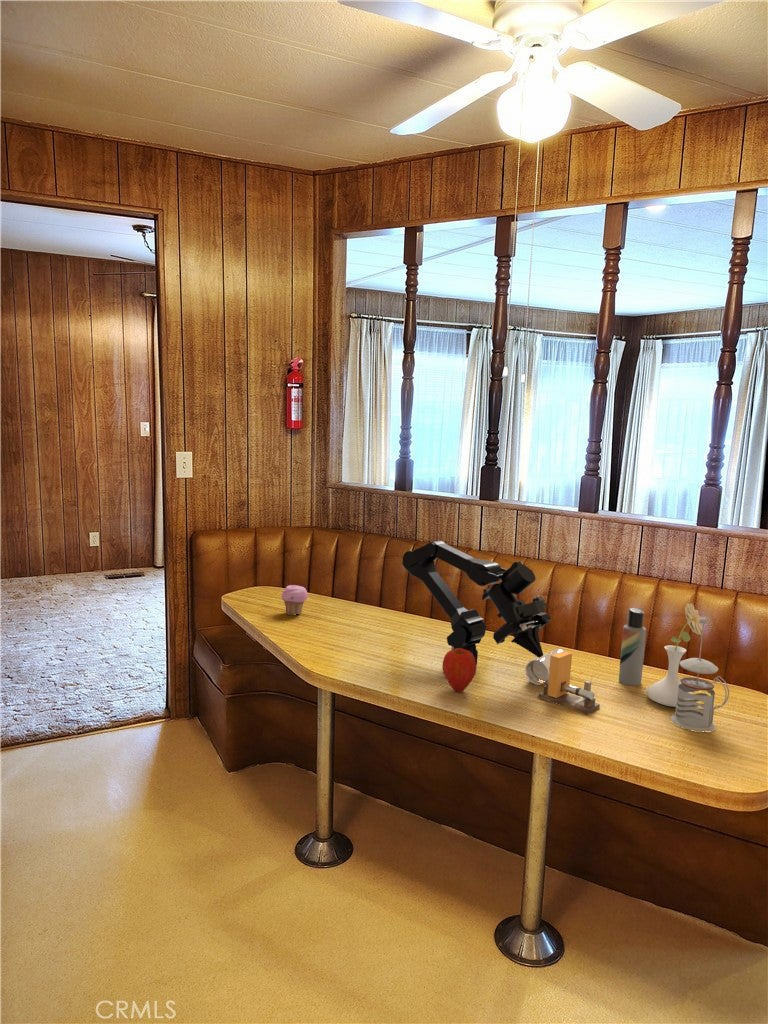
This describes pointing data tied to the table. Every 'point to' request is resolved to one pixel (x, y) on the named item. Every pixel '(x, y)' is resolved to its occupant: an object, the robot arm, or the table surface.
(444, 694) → the table surface
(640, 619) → the lotion bottle
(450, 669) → the red strawberry
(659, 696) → the flower in vase
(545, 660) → the beer glass
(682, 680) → the french press
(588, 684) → the pipe board
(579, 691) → the steel pipe
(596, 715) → the table surface
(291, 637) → the table surface
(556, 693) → the collar
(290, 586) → the cupcake
